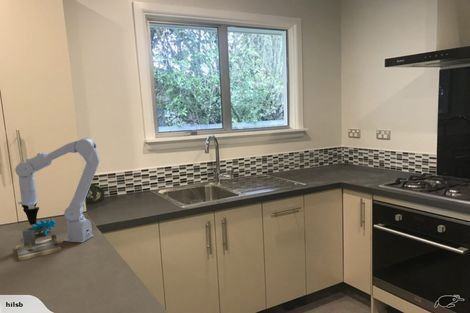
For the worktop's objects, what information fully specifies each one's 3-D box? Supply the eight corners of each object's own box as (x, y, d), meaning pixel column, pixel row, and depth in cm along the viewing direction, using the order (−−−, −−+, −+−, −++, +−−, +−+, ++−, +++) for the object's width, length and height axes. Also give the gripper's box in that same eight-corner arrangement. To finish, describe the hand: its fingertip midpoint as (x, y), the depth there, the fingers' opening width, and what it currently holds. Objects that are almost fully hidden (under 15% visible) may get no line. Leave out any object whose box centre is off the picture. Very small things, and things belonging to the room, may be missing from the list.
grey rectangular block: (34, 241, 147) (33, 227, 146) (36, 246, 141) (34, 232, 140) (23, 244, 144) (21, 229, 144) (24, 249, 138) (23, 234, 138)
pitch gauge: (55, 240, 154) (54, 231, 153) (61, 250, 141) (60, 241, 141) (16, 248, 146) (15, 239, 145) (19, 260, 133) (17, 250, 133)
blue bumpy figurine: (56, 225, 169) (53, 215, 161) (59, 236, 166) (56, 226, 158) (30, 233, 164) (26, 223, 156) (33, 244, 161) (28, 234, 153)
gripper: (15, 189, 151) (19, 220, 153) (18, 195, 140) (22, 228, 141) (34, 186, 155) (38, 216, 157) (38, 192, 143) (42, 224, 145)
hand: (32, 222), depth 150 cm, fingers open, 7 cm apart
